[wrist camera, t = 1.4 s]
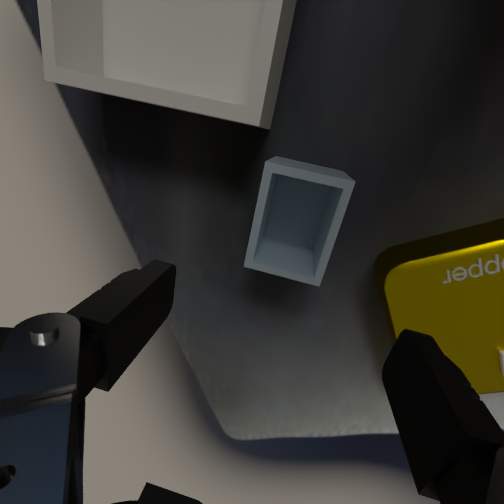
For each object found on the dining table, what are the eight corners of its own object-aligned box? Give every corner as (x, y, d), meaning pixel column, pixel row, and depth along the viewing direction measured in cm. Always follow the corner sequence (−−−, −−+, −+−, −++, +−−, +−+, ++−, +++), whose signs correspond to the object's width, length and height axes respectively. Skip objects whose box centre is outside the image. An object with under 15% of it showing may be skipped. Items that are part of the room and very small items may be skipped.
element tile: (562, 201, 22) (624, 215, 18) (565, 348, 27) (616, 388, 22) (368, 250, 27) (380, 271, 22) (398, 369, 31) (413, 407, 27)
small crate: (342, 170, 24) (355, 181, 18) (316, 252, 27) (319, 286, 21) (276, 156, 25) (265, 161, 18) (258, 237, 28) (243, 266, 21)
